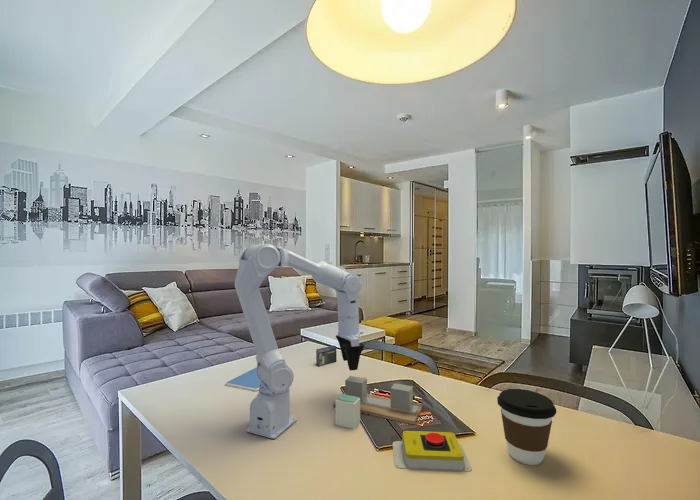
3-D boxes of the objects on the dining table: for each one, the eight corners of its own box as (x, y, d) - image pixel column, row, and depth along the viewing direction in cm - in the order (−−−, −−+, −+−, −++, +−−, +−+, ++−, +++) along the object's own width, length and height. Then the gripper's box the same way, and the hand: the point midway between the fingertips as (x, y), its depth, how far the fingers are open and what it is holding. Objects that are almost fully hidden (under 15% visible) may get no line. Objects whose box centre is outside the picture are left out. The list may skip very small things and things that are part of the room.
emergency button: (473, 451, 66) (394, 448, 67) (473, 474, 66) (394, 470, 67) (460, 426, 75) (392, 424, 76) (460, 446, 75) (392, 443, 77)
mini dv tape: (318, 366, 124) (318, 350, 124) (316, 365, 125) (316, 349, 125) (336, 362, 130) (336, 346, 130) (333, 361, 131) (333, 345, 131)
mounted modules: (409, 411, 87) (409, 391, 87) (345, 398, 95) (345, 380, 95) (412, 405, 91) (412, 386, 91) (350, 393, 98) (350, 375, 98)
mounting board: (414, 424, 84) (414, 421, 84) (333, 407, 93) (333, 404, 93) (422, 407, 93) (422, 404, 93) (348, 393, 102) (348, 390, 102)
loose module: (354, 429, 82) (354, 402, 82) (335, 424, 84) (335, 399, 84) (360, 422, 85) (360, 396, 85) (341, 418, 87) (341, 393, 87)
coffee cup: (565, 476, 65) (566, 413, 65) (504, 469, 67) (504, 408, 67) (543, 443, 76) (544, 389, 76) (491, 438, 78) (491, 386, 77)
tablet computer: (261, 367, 125) (261, 363, 125) (291, 372, 120) (291, 368, 120) (223, 387, 107) (223, 382, 107) (256, 393, 103) (256, 389, 103)
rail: (415, 415, 87) (415, 412, 87) (340, 399, 95) (340, 397, 95) (418, 409, 90) (418, 406, 90) (345, 394, 99) (345, 392, 99)
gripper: (369, 320, 88) (371, 372, 89) (355, 309, 103) (357, 354, 103) (342, 323, 87) (344, 376, 87) (332, 311, 101) (334, 357, 101)
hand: (350, 364), depth 95 cm, fingers open, 7 cm apart
